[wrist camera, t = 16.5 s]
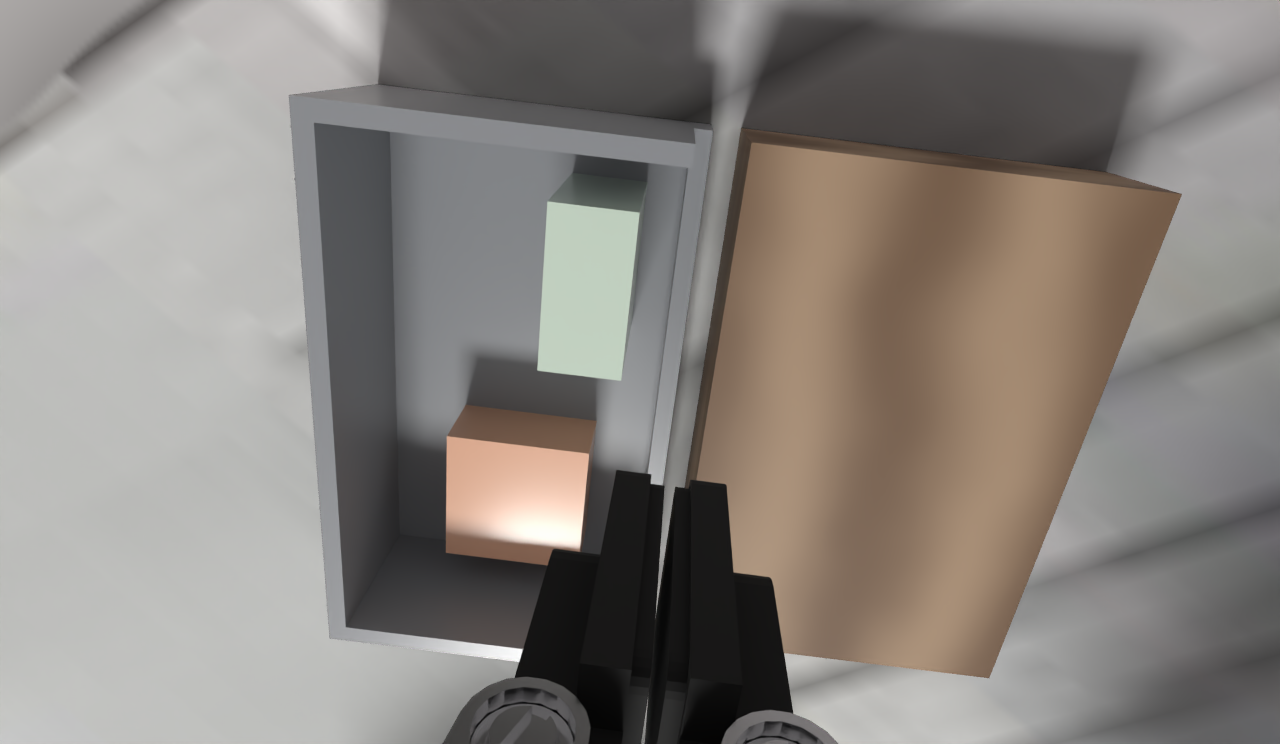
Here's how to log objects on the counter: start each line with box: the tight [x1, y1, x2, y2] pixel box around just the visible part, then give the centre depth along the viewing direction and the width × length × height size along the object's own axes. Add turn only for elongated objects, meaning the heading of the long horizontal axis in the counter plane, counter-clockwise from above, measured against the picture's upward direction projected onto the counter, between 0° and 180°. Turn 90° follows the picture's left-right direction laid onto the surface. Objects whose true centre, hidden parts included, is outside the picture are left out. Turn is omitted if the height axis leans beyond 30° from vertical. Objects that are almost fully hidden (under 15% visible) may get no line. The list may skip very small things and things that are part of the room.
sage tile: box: [537, 173, 648, 381], centre depth 23 cm, size 5×5×2 cm
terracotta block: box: [446, 405, 597, 565], centre depth 28 cm, size 5×5×2 cm
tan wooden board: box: [685, 128, 1182, 678], centre depth 26 cm, size 12×18×4 cm, turn 174°
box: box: [289, 84, 713, 662], centre depth 25 cm, size 11×18×6 cm, turn 174°
